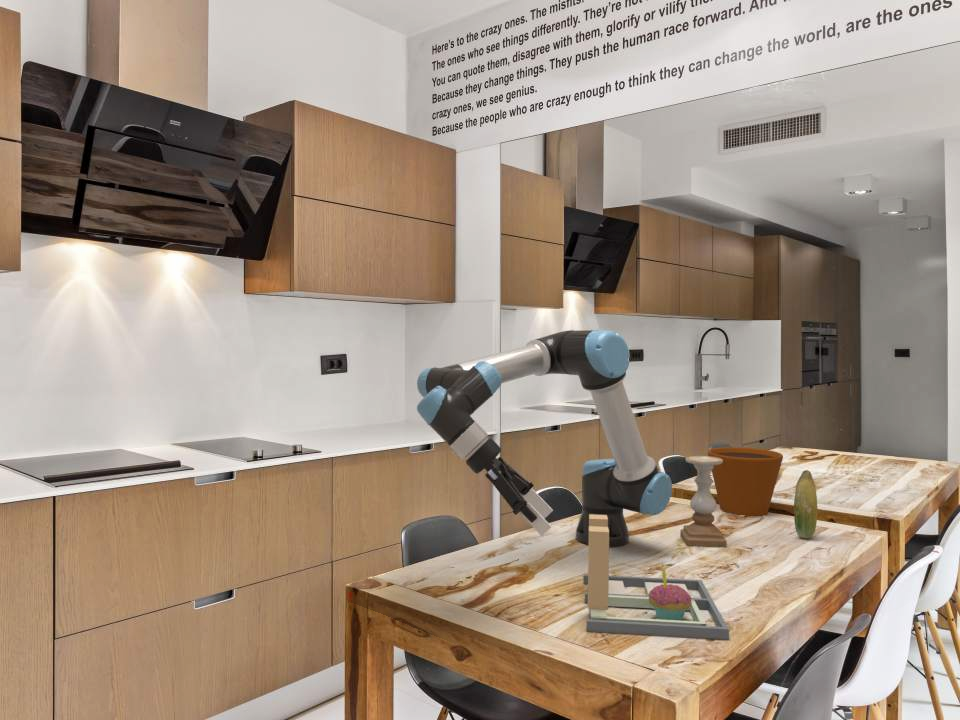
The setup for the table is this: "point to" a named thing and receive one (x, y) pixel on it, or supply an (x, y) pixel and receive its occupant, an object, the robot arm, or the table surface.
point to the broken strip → (618, 586)
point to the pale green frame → (600, 584)
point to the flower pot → (745, 479)
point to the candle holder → (703, 507)
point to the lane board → (659, 628)
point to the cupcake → (669, 600)
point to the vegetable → (805, 506)
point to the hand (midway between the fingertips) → (547, 522)
